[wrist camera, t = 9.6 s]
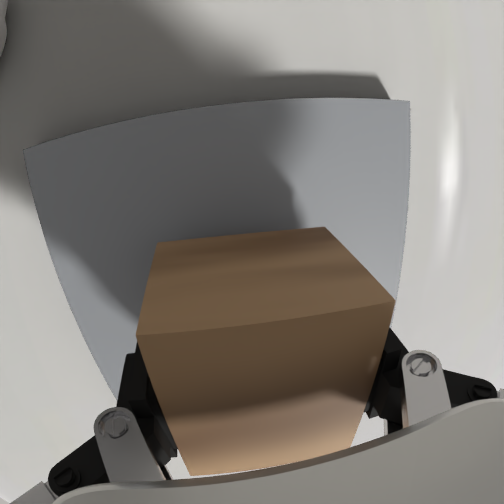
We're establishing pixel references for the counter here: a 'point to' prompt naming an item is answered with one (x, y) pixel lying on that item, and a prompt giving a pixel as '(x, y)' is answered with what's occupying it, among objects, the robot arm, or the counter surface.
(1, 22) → the smooth white sculpture
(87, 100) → the counter surface
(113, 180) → the base board
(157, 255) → the walnut brick
